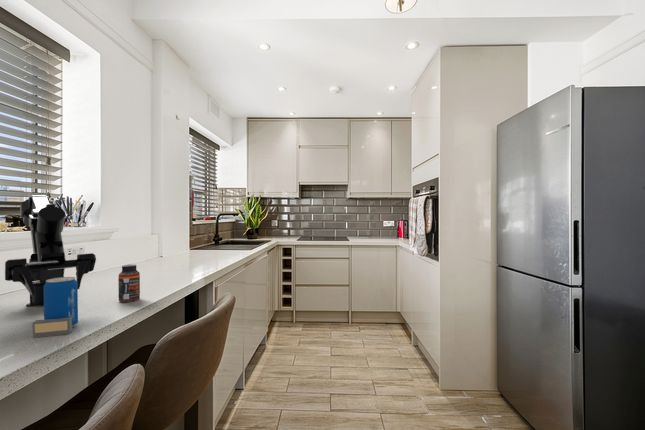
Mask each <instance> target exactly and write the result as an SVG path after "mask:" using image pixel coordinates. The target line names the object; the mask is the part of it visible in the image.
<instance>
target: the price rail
mask: <svg viewBox="0 0 645 430" xmlns="http://www.w3.org/2000/svg"><path fill="white" fill-rule="evenodd" d="M72 332H73V328H72V317H69V318H58V319H47V320H44V319H36V320H34V321H33V322H32V337H33V338H41V337H43V338H44V337H52V336H61V335H70V334H71V333H72Z"/></svg>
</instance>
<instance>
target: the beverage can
mask: <svg viewBox="0 0 645 430" xmlns="http://www.w3.org/2000/svg"><path fill="white" fill-rule="evenodd" d="M78 290H79V289H78V287H77V281H76V277H75V276H64V277H60V278H53V279H49V280H46V284H45V285H44V306H43V320H47V319H58V318H69V317H72V327H73V328H74V327H75V326H76V325H77V324H78V323H79V306H78V305H79V299H78V298H79V296H78V295H79V294H78Z"/></svg>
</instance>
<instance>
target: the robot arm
mask: <svg viewBox="0 0 645 430" xmlns="http://www.w3.org/2000/svg"><path fill="white" fill-rule="evenodd" d="M19 216H20V218H22V219H23V225H25V226H27V227H28V228H30V235H31V236H30V237H31V245H32V251H33V253H31V255H30V258H29V259H27V258H25V257H24V258H13V259H7V260H6V261H5V262H4V263H5V264H4V281H7V282H14V283H17V282H18V283H21V284H22V285H23V286H24V287H25V288H26V290H27V292H28V293H29V303H26V304H25V307H39V306H43V307H44V285H45V284H46V280H49V279H53V278H60V277H65V269H71V268H75V275H76V277H75V280H76V281H77V287H78V290H80V288H81V284H82V279H83V277H84V275H86V274H88V273H90V272H92V271H94V269H95V265H96V262H97V257H96V254H95V253H93V252H87V253H78V254H77V256H76V259H69V260H68V259H67V258H66V254H65V250H64V242H63V236H62V233H63V230H64V226H65V224H66V223H68V217H66V211H65V210H64V209H63V208H60V207H58V206H56V204H54V203H53V202H52V201H50V197H49V195H48V196H47V195H44V194H43V195H42V194H40V195H36V194H32V195H29V196H28V198H27V199H26V200H24V201H22V202H20V207H19ZM66 259H67V260H66ZM28 261H29V262H28Z"/></svg>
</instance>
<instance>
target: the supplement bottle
mask: <svg viewBox="0 0 645 430" xmlns="http://www.w3.org/2000/svg"><path fill="white" fill-rule="evenodd" d="M140 274H141V272H139V271H138V269H137V265H136V264H123V265H122V266H121V272H119V273H118V281H117V282H118V284H117V285H118V301H119V302H120V303H132V302H136V301H138V300H140V299H141V298H140V297H141V277H140V276H141V275H140Z"/></svg>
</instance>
